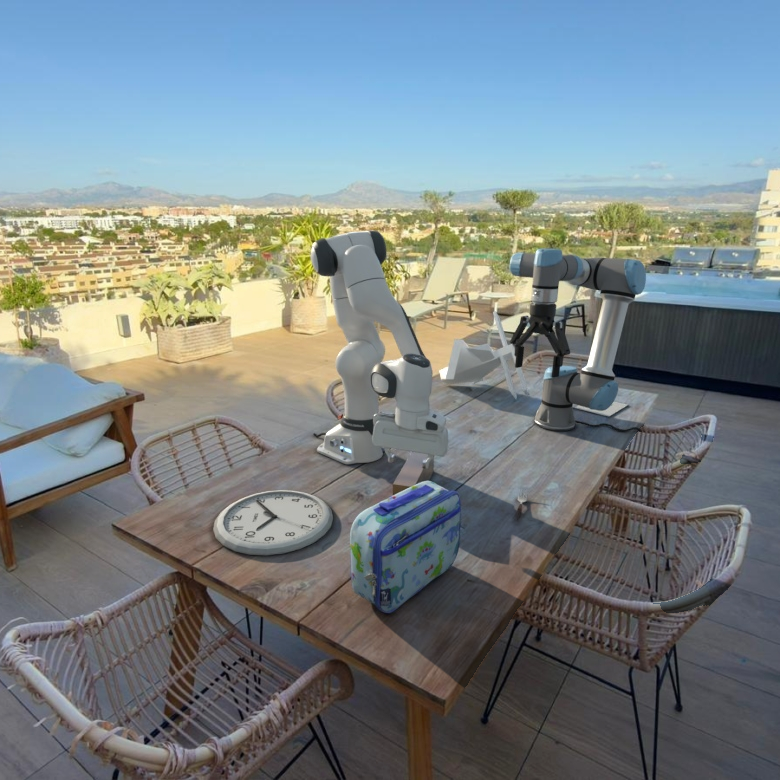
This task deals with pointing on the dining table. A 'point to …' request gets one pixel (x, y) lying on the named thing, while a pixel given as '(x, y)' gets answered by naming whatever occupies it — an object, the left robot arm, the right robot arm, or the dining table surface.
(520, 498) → the fork
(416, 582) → the lunch box
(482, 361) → the white plastic object
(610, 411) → the invitation card
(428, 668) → the dining table surface
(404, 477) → the bar
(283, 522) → the wall clock
